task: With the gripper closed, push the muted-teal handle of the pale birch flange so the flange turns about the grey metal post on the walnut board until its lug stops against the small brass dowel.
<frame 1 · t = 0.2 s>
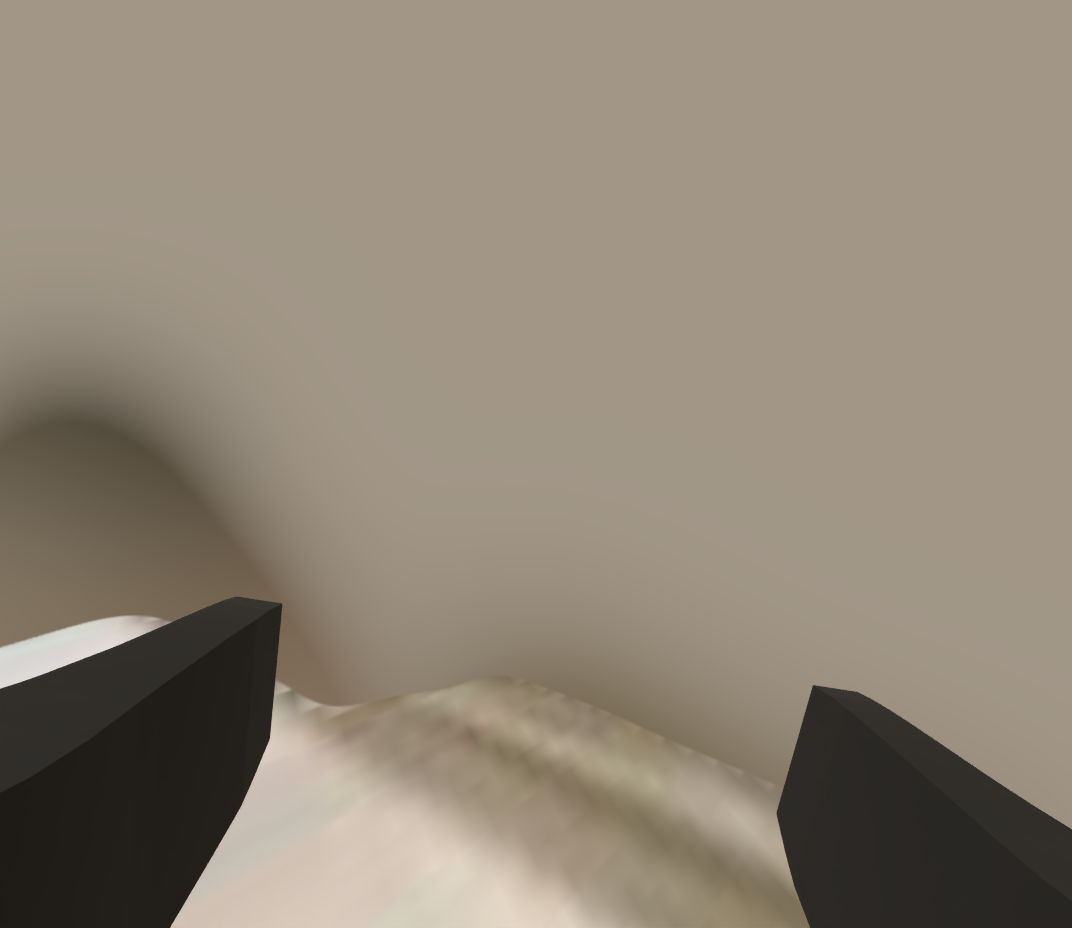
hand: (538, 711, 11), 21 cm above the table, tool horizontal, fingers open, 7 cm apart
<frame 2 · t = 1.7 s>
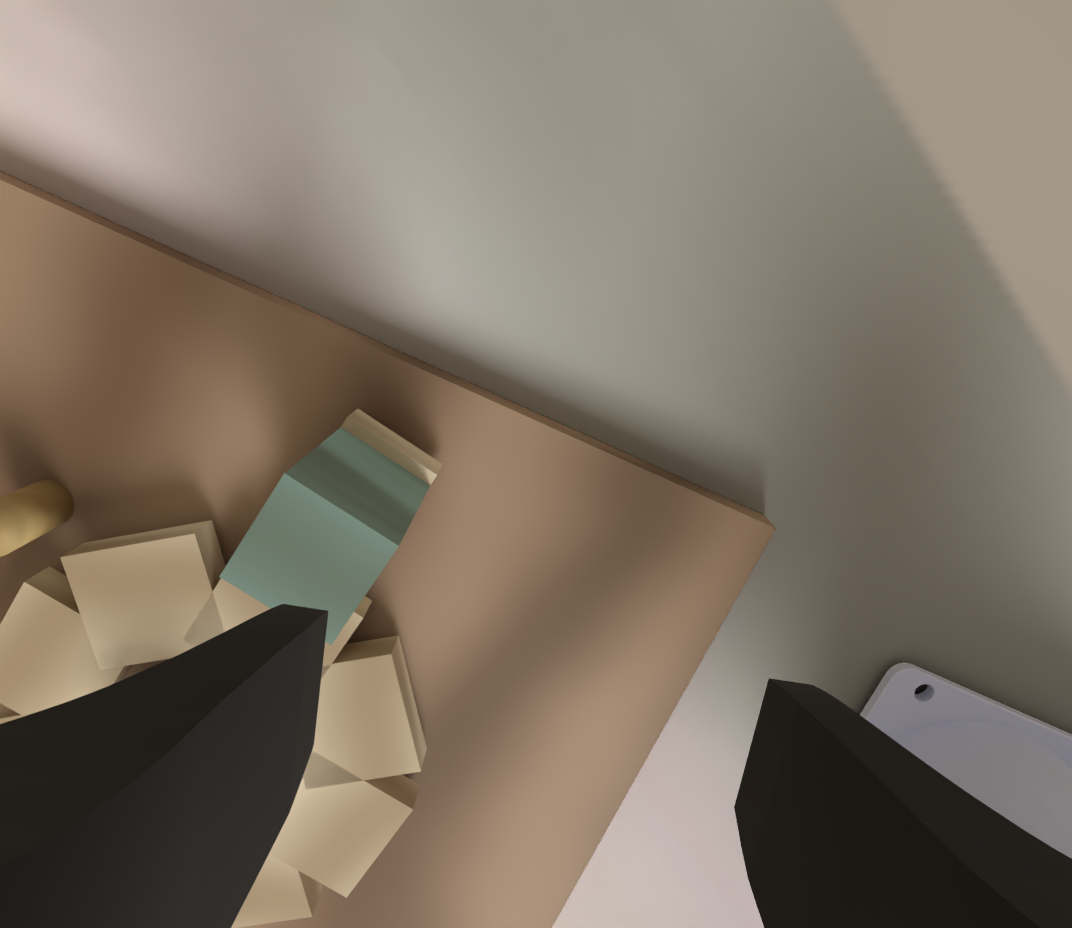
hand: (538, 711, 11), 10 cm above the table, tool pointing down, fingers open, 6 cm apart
post board: (229, 699, 22), on the table
flange: (207, 723, 18), point 4 cm above the table, hinge at 0.0°
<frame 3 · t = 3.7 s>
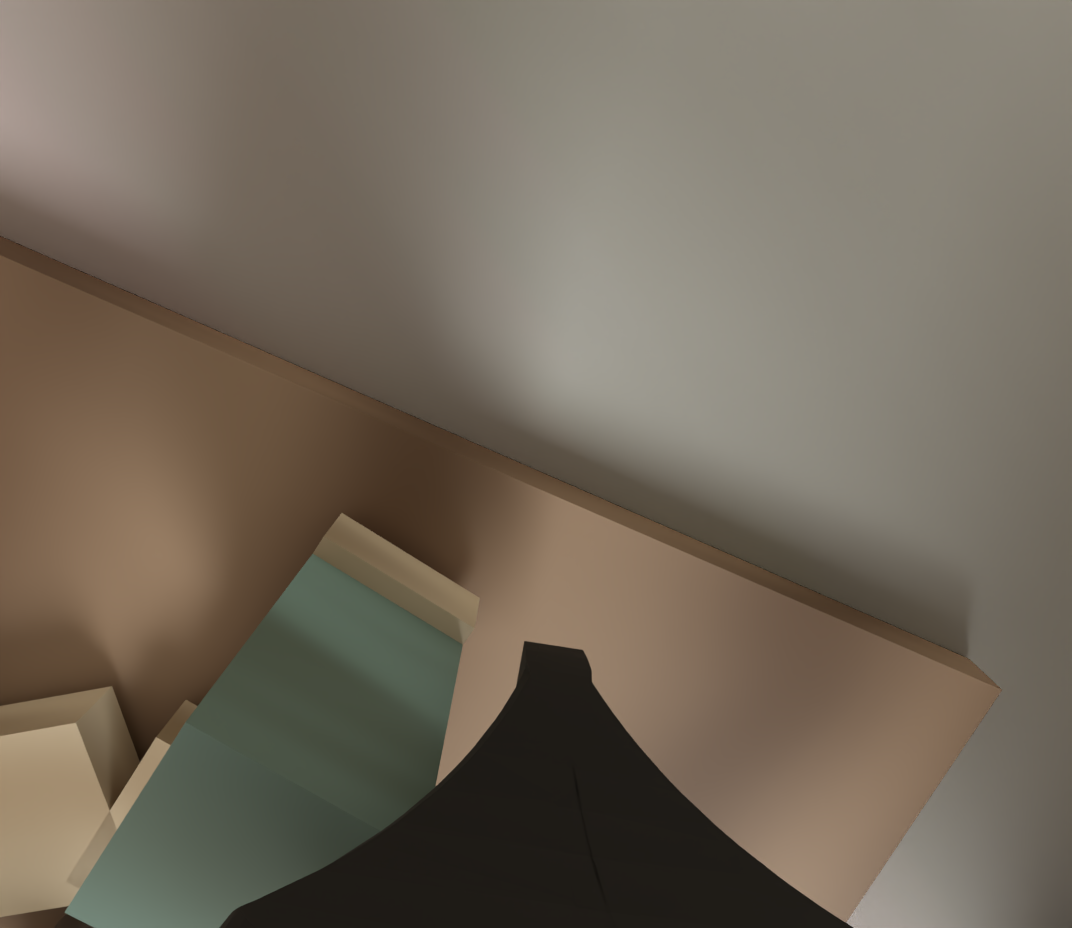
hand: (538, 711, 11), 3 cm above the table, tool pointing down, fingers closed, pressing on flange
post board: (157, 921, 15), on the table
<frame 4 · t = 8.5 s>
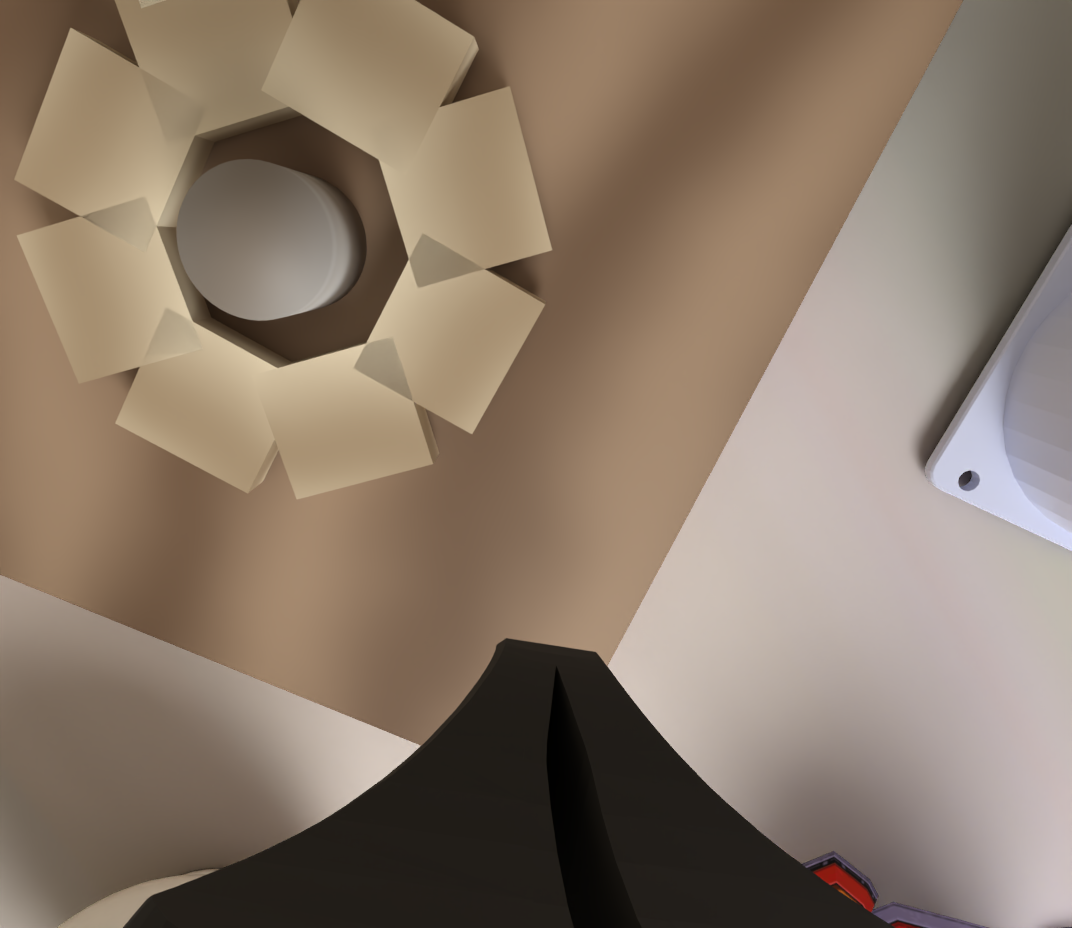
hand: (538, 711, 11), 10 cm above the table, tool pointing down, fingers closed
post board: (314, 243, 19), on the table
flange: (220, 136, 15), point 4 cm above the table, hinge at 49.7°
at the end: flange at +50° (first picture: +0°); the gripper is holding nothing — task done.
